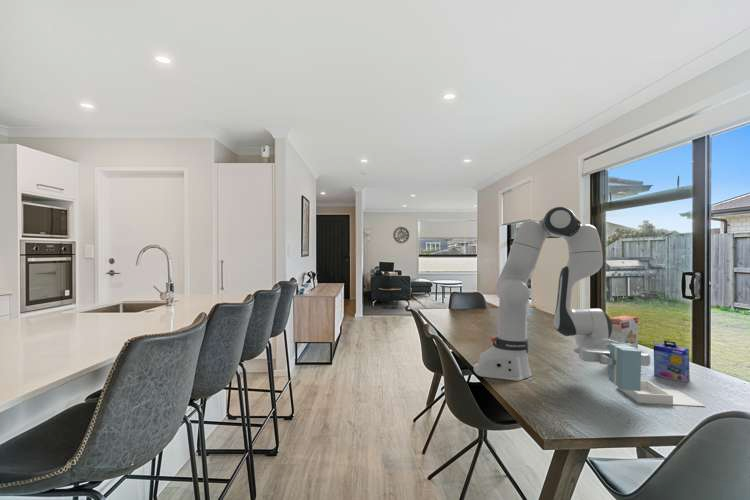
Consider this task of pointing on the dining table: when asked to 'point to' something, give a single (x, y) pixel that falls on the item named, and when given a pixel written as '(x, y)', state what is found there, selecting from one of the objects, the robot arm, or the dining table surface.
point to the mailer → (660, 396)
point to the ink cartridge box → (671, 361)
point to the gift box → (625, 367)
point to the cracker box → (625, 329)
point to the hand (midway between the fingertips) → (625, 363)
